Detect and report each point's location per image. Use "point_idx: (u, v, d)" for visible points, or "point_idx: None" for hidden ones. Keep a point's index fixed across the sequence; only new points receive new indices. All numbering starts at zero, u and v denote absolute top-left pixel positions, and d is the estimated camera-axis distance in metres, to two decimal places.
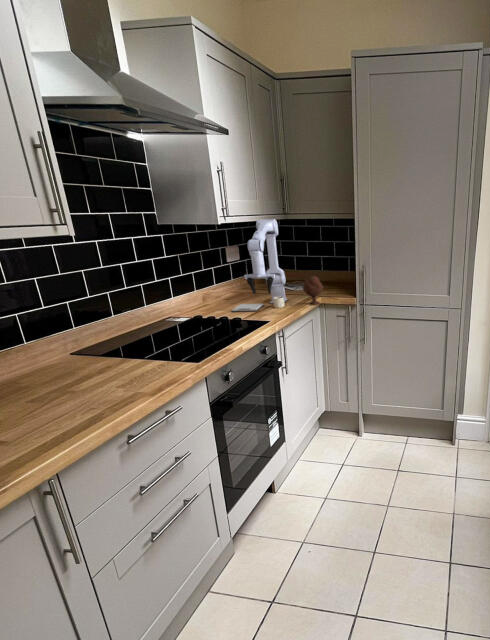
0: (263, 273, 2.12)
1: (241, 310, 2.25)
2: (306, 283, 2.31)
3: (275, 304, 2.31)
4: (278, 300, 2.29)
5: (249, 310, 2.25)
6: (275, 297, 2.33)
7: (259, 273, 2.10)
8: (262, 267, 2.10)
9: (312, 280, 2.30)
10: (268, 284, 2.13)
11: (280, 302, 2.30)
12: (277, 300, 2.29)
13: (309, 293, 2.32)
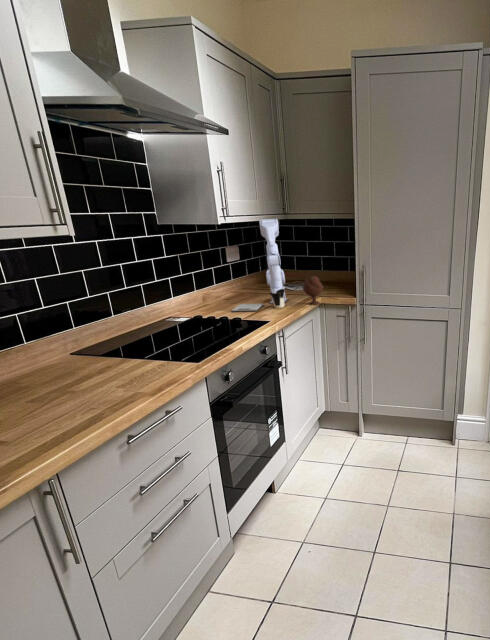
0: None
1: (241, 310, 2.25)
2: (306, 283, 2.31)
3: None
4: None
5: (249, 310, 2.25)
6: None
7: (282, 285, 2.30)
8: None
9: (312, 280, 2.30)
10: (283, 294, 2.34)
11: (280, 302, 2.30)
12: None
13: (309, 293, 2.32)
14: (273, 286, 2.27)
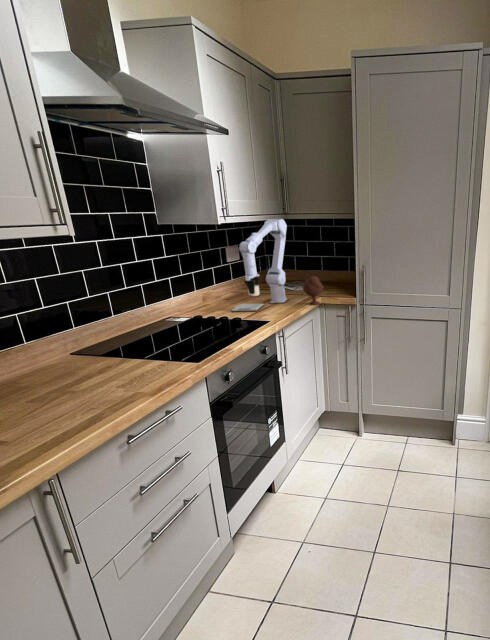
0: None
1: (241, 310, 2.25)
2: (306, 283, 2.31)
3: None
4: None
5: (249, 310, 2.25)
6: None
7: (256, 272, 2.25)
8: None
9: (312, 280, 2.30)
10: (258, 282, 2.30)
11: (255, 290, 2.26)
12: None
13: (309, 293, 2.32)
14: (247, 273, 2.22)
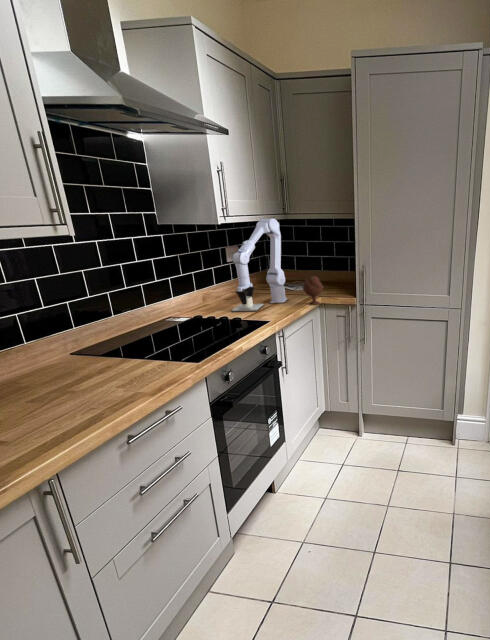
0: None
1: (241, 310, 2.25)
2: (306, 283, 2.31)
3: (243, 304, 2.28)
4: None
5: (249, 310, 2.25)
6: None
7: (250, 283, 2.27)
8: None
9: (312, 280, 2.30)
10: (252, 292, 2.32)
11: (248, 302, 2.27)
12: None
13: (309, 293, 2.32)
14: (240, 284, 2.24)
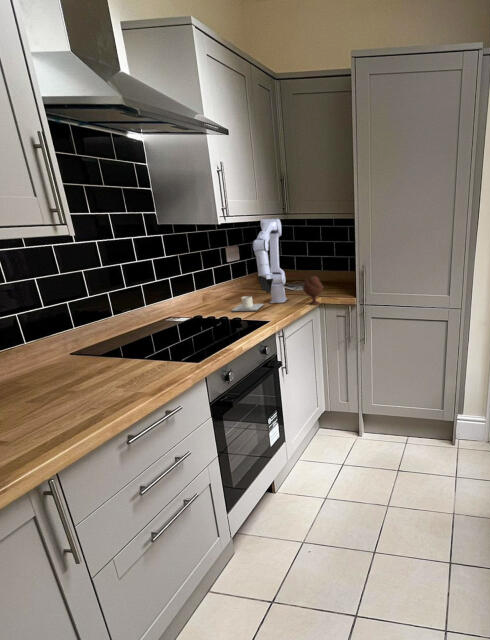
0: None
1: (241, 310, 2.25)
2: (306, 283, 2.31)
3: (243, 304, 2.28)
4: (245, 300, 2.27)
5: (249, 310, 2.25)
6: (244, 297, 2.30)
7: None
8: None
9: (312, 280, 2.30)
10: None
11: (248, 302, 2.27)
12: (244, 300, 2.27)
13: (309, 293, 2.32)
14: (263, 272, 2.18)
